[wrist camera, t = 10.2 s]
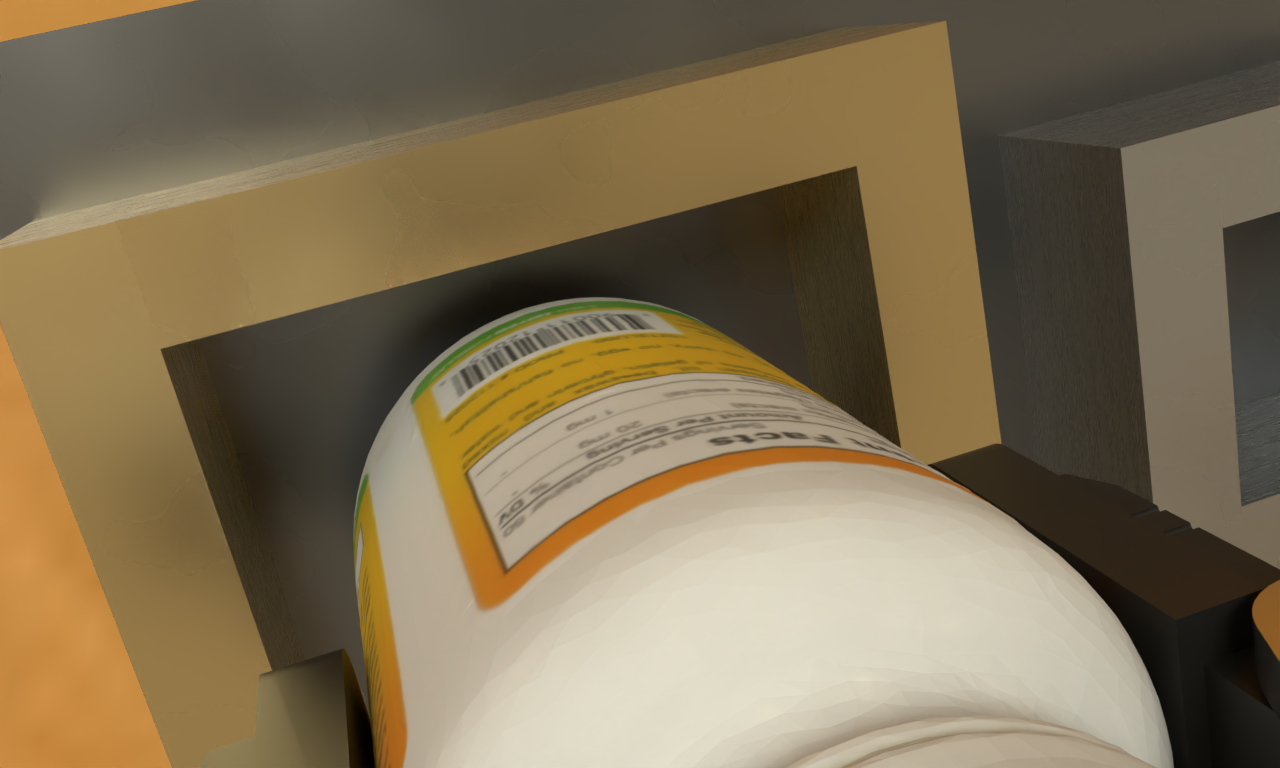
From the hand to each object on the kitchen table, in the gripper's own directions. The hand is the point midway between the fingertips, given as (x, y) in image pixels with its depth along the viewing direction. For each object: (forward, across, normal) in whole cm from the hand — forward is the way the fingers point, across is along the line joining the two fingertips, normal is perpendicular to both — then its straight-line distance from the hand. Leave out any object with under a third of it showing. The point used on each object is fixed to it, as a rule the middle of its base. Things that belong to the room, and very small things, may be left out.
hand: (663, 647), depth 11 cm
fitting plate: (+6, -4, 0) cm, 7 cm away
